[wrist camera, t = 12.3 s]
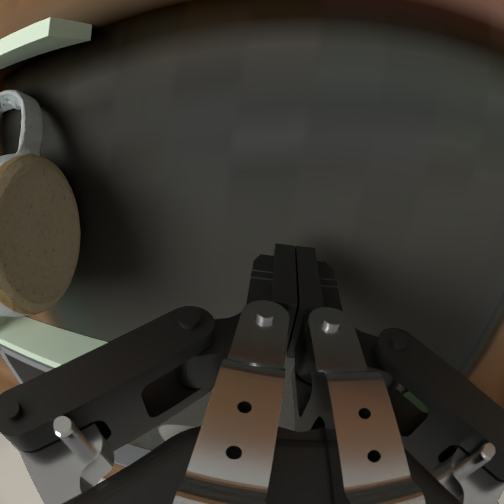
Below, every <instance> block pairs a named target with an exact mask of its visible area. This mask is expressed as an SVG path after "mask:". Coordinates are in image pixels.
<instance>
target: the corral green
mask: <svg viewBox="0 0 504 504" xmlns="http://www.w3.org/2000/svg"><path fill="white" fill-rule="evenodd" d="M91 31H92V25H90V24H86V23H81V22H76V21H70V20H65V19H59V18H52V17H50V18H47V19H45V20H42V21H40V22H37V23H35V24H32V25H30V26H28V27H25V28H23V29H21V30H19V31H17V32H14V33H12V34H10V35H8V36H6V37H4V38H2V39H0V69H3V68H5V67H7V66H10V65H12V64H15V63H17V62H20V61H23V60H25V59H28V58H31V57H34V56H37V55H40V54H43V53H46V52H49V51H53V50H56V49H59V48H63V47H66V46H70V45H74V44H78V43H82V42H86V41H91ZM106 343H108V342H106V341H102V340H98V339H94V338H91V337H87V336H84V335H80V334H77V333H74V332H70V331H67V330H64V329H61V328H57V327H54V326H51V325H48V324H45V323H42V322H39V321H36V320H34V319H31V318H28V317H25V316H22V317H8V316H0V344H2V345H4V346H6V347H8V348H10V349H12V350H15V351H17V352H19V353H21V354H23V355H25V356H28V357H30V358H32V359H35V360H37V361H39V362H42V363H44V364H47V365H49V366H51V367H54V368H56V367H58V366H60V365H62V364H64V363H67V362H69V361H71V360H73V359H75V358H77V357H79V356H81V355H83V354H85V353H87V352H89V351H92V350H94V349H96V348H98V347H100V346H102V345H104V344H106Z"/></svg>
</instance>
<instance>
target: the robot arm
mask: <svg viewBox="0 0 504 504" xmlns="http://www.w3.org/2000/svg"><path fill="white" fill-rule="evenodd" d="M286 350H287V357H289V358H295V366H294V369H293V373H292V387H293V399H294V411H295V430H294V431H292V430H288V429H285V428H282V427H278V423H279V416H280V409H281V402H282V394H283V386H284V379H285V369H284V361H285V354H286ZM399 384H401V385H402V386H404V387H405V388H406V389H407V390H408V391H409V392H411V393H412V394H413V395H414V396H415V397H416V398H417V399H419V400H420V401H421V402H422V403H423V404H424V405H425V406H426V407H427V409H428V412H423V411H421V410H420V409H419V408H417V407H416V406H415V405H414V404H413V403H412V402H411V401H409V400H408V399H407V398H406V397H405V396H404V395H403V394H401V393H400V392H399V391H398V390H397V389H396V388H397V386H398V385H399ZM213 387H214V388H213ZM212 388H213V392H212V395H211V398H210V401H209V404H208V407H207V410H206V413H205V416H204V419H203V422H202V426H199V427H195V428H192V429H189V430H186V431H183V432H180V433H179V434H177V435H175V436H173V437H171V438H170V439H168V440H167V441H165V442H164V443H162V444H161V445H159V446H158V447H156V448H155V449H153V450H152V451H150V452H149V453H147V454H146V455H144V456H143V457H141V458H140V459H138V460H137V461H135V462H133V463H132V464H130V465H129V466H127V467H125V468H124V469H122V470H121V471H119V472H117V473H116V474H114V475H112V476H111V477H109V478H107V479H106V480H104V481H102V482H101V483H99V484H98V482H99V480H100V479H101V478H102V477H104V476H105V475H106V474H107V473H109V471H110V470H111V469H112V467H113V464H114V451H115V450H117V449H119V448H121V447H122V446H124V445H126V444H128V443H129V442H131V441H133V440H135V439H136V438H138V437H140V436H141V435H143V434H145V433H146V432H148V431H150V430H151V429H153V428H155V427H156V426H158V425H160V424H161V423H163V422H164V421H166V420H168V419H169V418H171V417H172V416H174V415H175V414H177V413H179V412H180V411H182V410H183V409H185V408H186V407H188V406H189V405H191V404H192V403H194V402H195V401H197V400H198V399H200V398H201V397H203V396H204V395H206V394H207V393H208V392H210V391H211V389H212ZM0 432H1V433H2V434H3V435H4V436H5V437H6V438H7V439H8V440H9V441H10V442H11V443H12V445H13V446H14V447H15V448H17V450H18V451H19V452H20V454H21V456H22V459H23V461H24V463H25V466H26V468H27V470H28V472H29V474H30V476H31V479H32V480H33V483H34V484H35V486H36V488H37V490H38V492H39V494H40V496H41V498H42V500H43V502H44V504H496V503H497V501H498V500H499V498H500V496H501V494H502V492H503V490H504V410H503V409H502V408H501V407H500V406H499V405H497V404H496V403H495V402H494V401H493V400H492V399H490V398H489V397H488V396H487V395H486V394H484V393H483V392H482V391H481V390H480V389H478V388H477V387H476V386H475V385H473V384H472V383H471V382H470V381H469V380H467V379H466V378H465V377H464V376H462V375H461V374H460V373H459V372H457V371H456V370H455V369H454V368H453V367H451V366H450V365H449V364H448V363H446V362H445V361H444V360H443V359H441V358H440V357H439V356H438V355H436V354H435V353H434V352H433V351H431V350H430V349H429V348H427V347H426V346H425V345H424V344H422V343H421V342H420V341H419V340H417V339H416V338H415V337H413V336H412V335H411V334H409V333H408V332H406V331H404V330H402V329H398V328H388V329H385V330H383V331H382V332H381V333H380V335H379V337H376V336H373V335H369V334H366V333H363V332H361V331H359V330H357V329H355V327H354V324H353V322H352V320H351V318H350V317H349V316H348V315H347V314H345V313H344V312H343V311H342V306H341V302H340V297H339V293H338V288H337V284H336V281H335V275H334V271H333V269H332V268H331V267H330V266H329V265H328V264H327V263H326V262H319V261H317V259H316V253H315V249H314V248H309V247H301V246H292V245H284V244H275V250H274V256H269V255H261V254H260V255H259V256H258V257H257V258H256V259H255V260H254V262H253V268H252V274H251V280H250V286H249V292H248V298H247V304H246V306H245V307H244V308H243V310H242V312H241V313H239V314H238V315H236V316H233V317H230V318H225V319H215V320H214V319H213V317H212V315H211V314H210V313H209V312H208V311H206V310H204V309H202V308H199V307H194V306H185V307H180V308H177V309H175V310H173V311H171V312H169V313H167V314H165V315H163V316H161V317H159V318H157V319H155V320H153V321H151V322H149V323H147V324H145V325H143V326H141V327H139V328H137V329H135V330H133V331H131V332H128V333H126V334H124V335H122V336H120V337H118V338H116V339H114V340H112V341H110V342H108V343H106V344H104V345H102V346H100V347H98V348H96V349H94V350H92V351H89V352H87V353H85V354H83V355H81V356H79V357H77V358H75V359H73V360H71V361H69V362H67V363H64V364H62V365H60V366H58V367H56V368H54V369H52V370H50V371H48V372H45V373H43V374H41V375H39V376H37V377H35V378H33V379H31V380H28V381H26V382H24V383H22V384H20V385H18V386H16V387H13V388H11V389H9V390H7V391H5V392H3V393H2V394H1V395H0Z"/></svg>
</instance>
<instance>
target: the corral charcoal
mask: <svg viewBox="0 0 504 504" xmlns="http://www.w3.org/2000/svg"><path fill="white" fill-rule="evenodd" d="M0 353H1V355H2V357H3V358H4V360H5V361H6V363H7V365H8V366H9V368H10V369H11V371H12V372H13V374H14V375H15V377H16V378H17V380H18V381H19V383H20V384H22V383H24V382H26V381H28V380H31V379H33V378H35V377H37V376H39V375H41V374H43V373H45V372H48V371H50V370H52V369H54V367H51V366H49V365H47V364H44V363H42V362H39V361H37V360H35V359H32V358H30V357H28V356H25V355H23V354H21V353H19V352H17V351H15V350H12V349H10V348H8V347H6V346H4V345H2V344H0ZM150 451H151V450H147V449H144V448H140V447H137V446H133V445H130V444H126V445H124V446H122V447H121V448H119V449H117V450H115V451H114V463H116V464H119V465H122V466H125V467H127V466H129V465H130V464H132V463H133V462H135V461H137V460H138V459H140V458H141V457H143V456H144V455H146V454H147V453H149V452H150Z"/></svg>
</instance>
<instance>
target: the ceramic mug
mask: <svg viewBox="0 0 504 504" xmlns="http://www.w3.org/2000/svg"><path fill="white" fill-rule="evenodd" d="M14 108H16V109H17V110H21V113H22V120H21V134H20V138H19V148H18V151H17V153H15V154H7V155H3V156H0V316H8V317H22V316H28V315H35V314H38V313H41V312H44V311H46V310H48V309H50V308H51V307H52V306H53V305H55V304H56V303H57V302H58V301H59V300H60V299H61V297H62V296H63V295H64V293H65V292H66V290H67V288H68V287H69V285H70V283H71V280H72V278H73V275H74V272H75V269H76V265H77V261H78V257H79V250H80V236H81V230H80V220H79V212H78V207H77V203H76V200H75V197H74V194H73V191H72V188H71V186H70V185H69V183H68V181H67V179H66V177H65V176H64V174H63V173H62V171H61V170H60V169H59V168H58V167H57V166H56V165H55V164H54V163H53V162H51V161H50V160H48V159H47V158H45V157H42V156H40V150H41V145H42V139H43V120H42V111H41V108H40V106H39V104H38V102H37V101H36V100H35V99H34V98H32V97H30V96H28V95H26V94H24V93H21V92H19V91H17V90H5V91H3V92H0V115H1V114H2V113H3V112H5V111H7V110H11V109H14Z"/></svg>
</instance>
